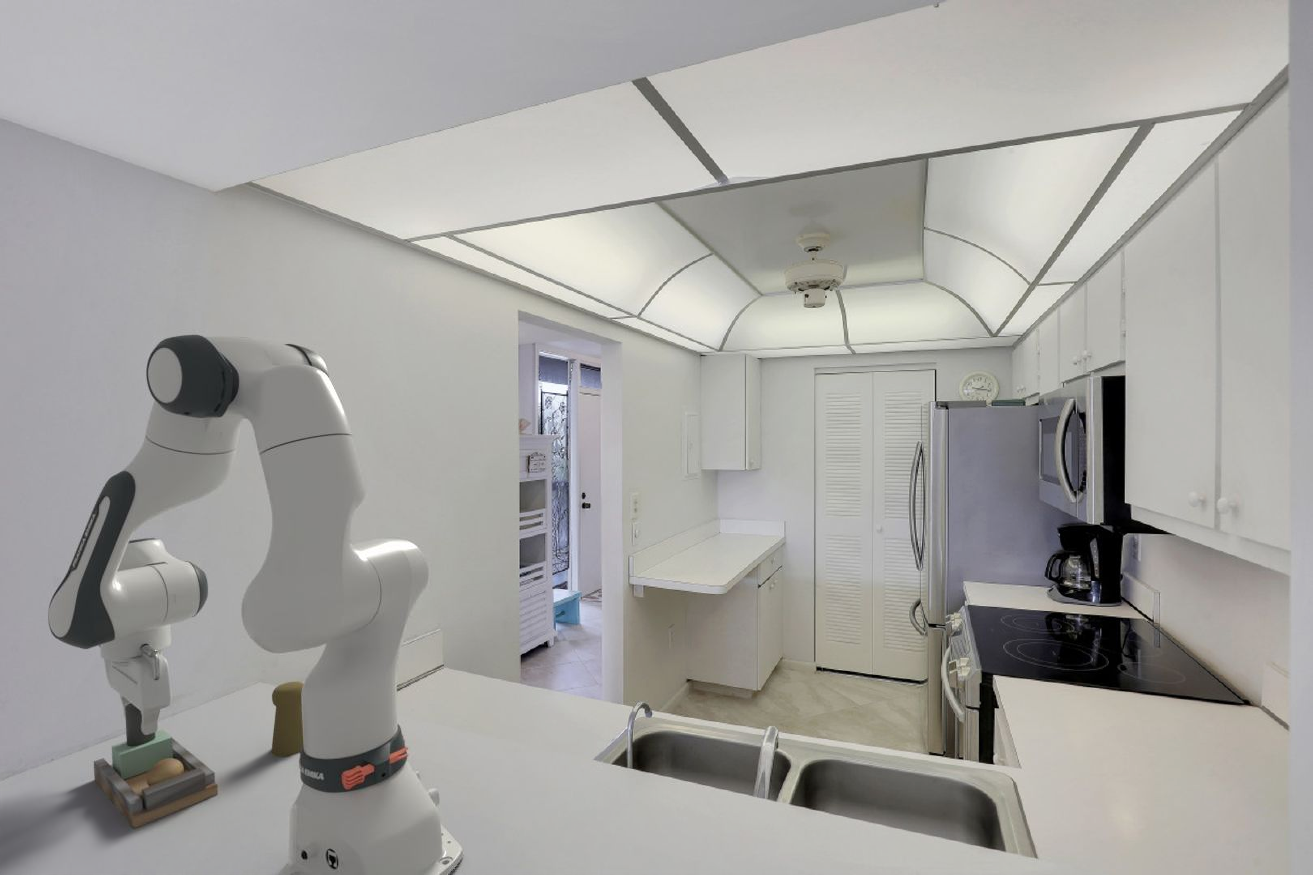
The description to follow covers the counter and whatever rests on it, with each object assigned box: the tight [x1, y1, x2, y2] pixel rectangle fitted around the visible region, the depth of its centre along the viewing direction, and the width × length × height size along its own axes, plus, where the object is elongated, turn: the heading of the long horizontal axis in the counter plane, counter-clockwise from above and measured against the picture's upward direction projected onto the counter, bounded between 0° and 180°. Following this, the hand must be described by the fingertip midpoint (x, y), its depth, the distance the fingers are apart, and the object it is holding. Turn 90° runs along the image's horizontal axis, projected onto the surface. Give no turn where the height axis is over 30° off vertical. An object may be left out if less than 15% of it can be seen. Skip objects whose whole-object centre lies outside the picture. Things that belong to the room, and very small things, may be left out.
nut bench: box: [93, 737, 219, 829], centre depth 99 cm, size 22×10×4 cm, turn 52°
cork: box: [271, 681, 304, 757], centre depth 110 cm, size 6×6×11 cm
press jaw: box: [111, 703, 173, 780], centre depth 102 cm, size 5×7×10 cm
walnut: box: [147, 758, 184, 786], centre depth 95 cm, size 4×4×4 cm
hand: (140, 724), depth 102 cm, fingers open, 8 cm apart
